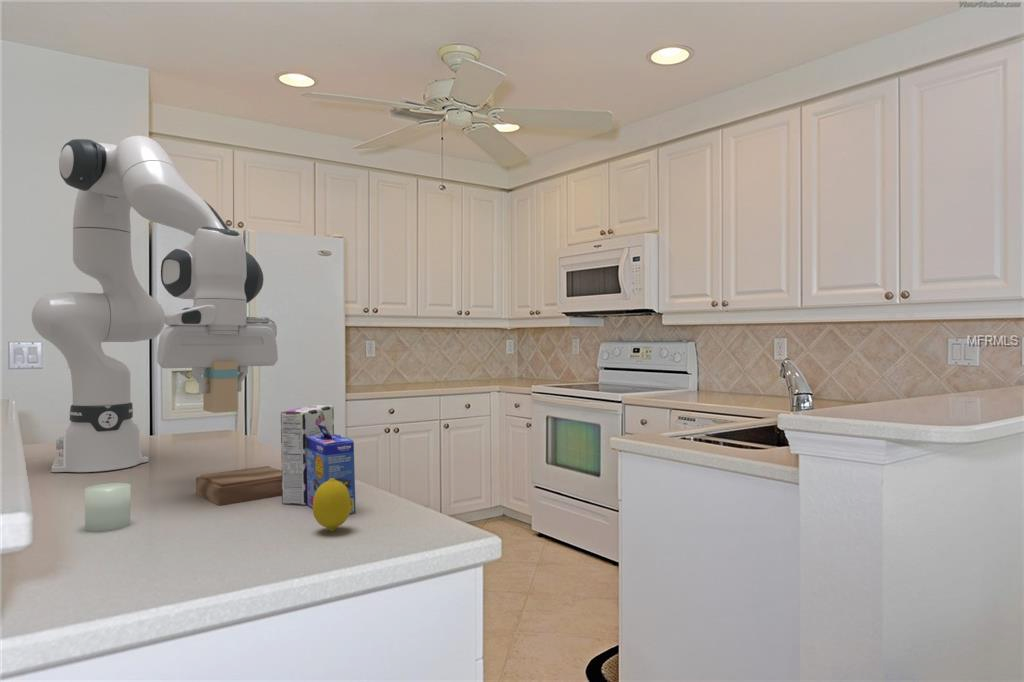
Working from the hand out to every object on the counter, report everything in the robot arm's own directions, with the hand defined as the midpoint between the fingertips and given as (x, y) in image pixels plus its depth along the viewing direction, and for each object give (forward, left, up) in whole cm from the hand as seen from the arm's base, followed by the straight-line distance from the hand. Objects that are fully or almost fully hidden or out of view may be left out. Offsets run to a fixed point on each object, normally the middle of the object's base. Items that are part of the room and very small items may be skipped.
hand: (220, 392), depth 119 cm
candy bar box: (+11, +12, -19) cm, 25 cm away
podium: (0, +5, -19) cm, 20 cm away
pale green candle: (+7, -19, -19) cm, 28 cm away
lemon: (+33, +5, -19) cm, 38 cm away
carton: (0, 0, -3) cm, 3 cm away
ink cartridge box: (+21, +11, -19) cm, 30 cm away
